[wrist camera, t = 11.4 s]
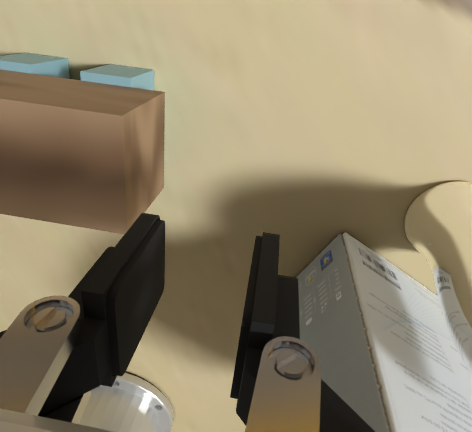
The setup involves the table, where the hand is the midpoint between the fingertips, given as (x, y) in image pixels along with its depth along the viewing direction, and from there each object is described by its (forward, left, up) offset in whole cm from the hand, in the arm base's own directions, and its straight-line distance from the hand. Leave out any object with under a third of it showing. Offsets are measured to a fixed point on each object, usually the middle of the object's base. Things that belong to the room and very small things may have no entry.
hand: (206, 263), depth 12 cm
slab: (0, +11, -11) cm, 16 cm away
